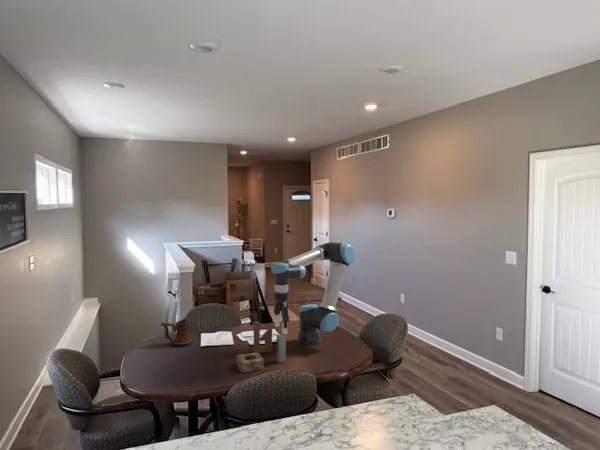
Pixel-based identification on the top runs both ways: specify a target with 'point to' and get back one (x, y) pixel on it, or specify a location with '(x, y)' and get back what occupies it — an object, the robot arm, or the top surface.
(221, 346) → the top surface
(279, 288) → the robot arm
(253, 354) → the socket block
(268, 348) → the brown braced frame
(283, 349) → the peg
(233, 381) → the top surface
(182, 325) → the mug
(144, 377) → the top surface
